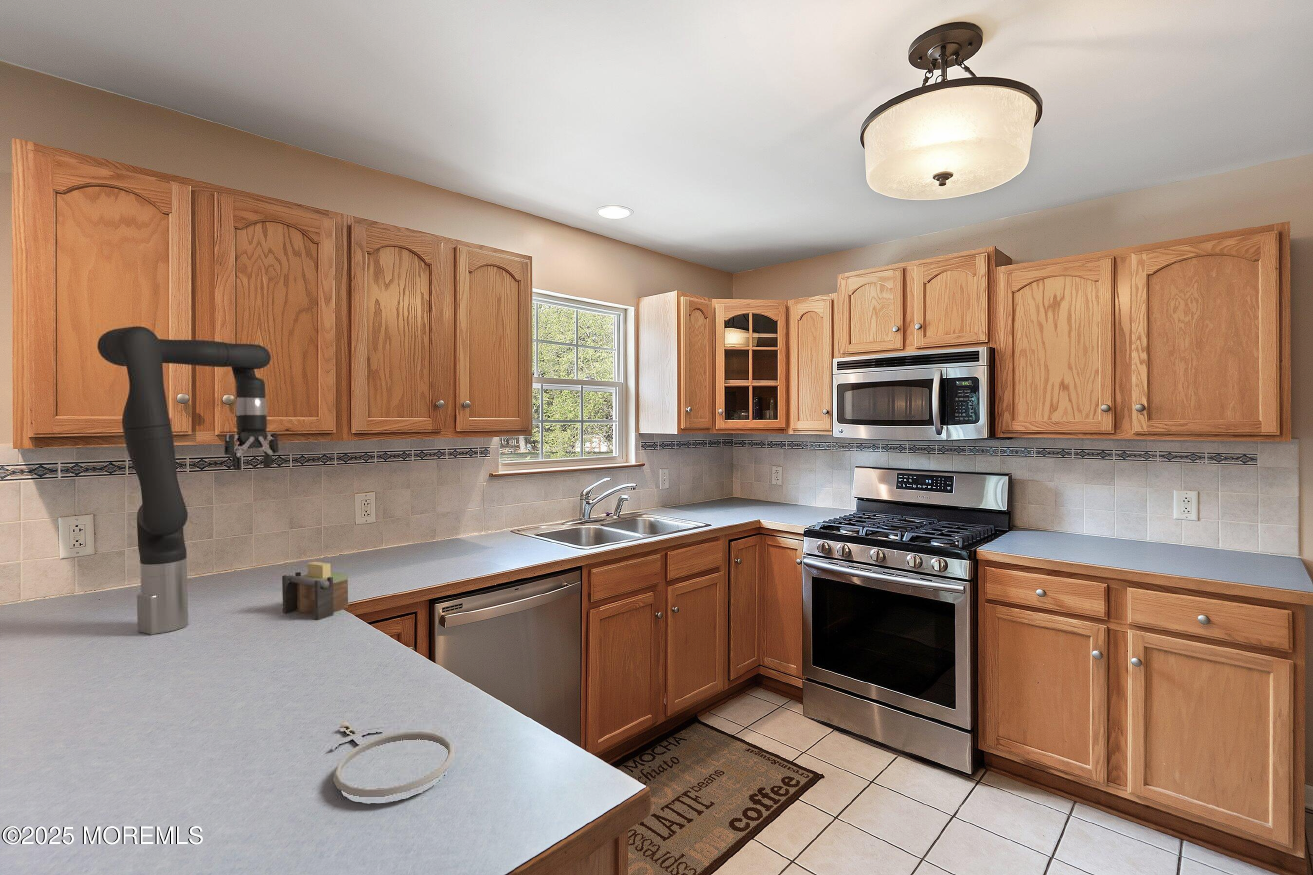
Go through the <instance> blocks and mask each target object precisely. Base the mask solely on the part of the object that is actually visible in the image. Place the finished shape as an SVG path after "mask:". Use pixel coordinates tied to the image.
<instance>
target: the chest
mask: <svg viewBox="0 0 1313 875" xmlns="http://www.w3.org/2000/svg"><path fill="white" fill-rule="evenodd" d="M301 573H302V572H300V571H297V572H296V571H295V572H294V576H302V574H301ZM281 580H282V581H281V583H282V584H281V585H282V587H281V588H282V589H281V590H282V592H281V593H282V595H281V596H282V613H283V614H289V613H292V612H295V611H297V612H300V613H301V612H302V613H305V614H311V615H314V619H315V620H316V621H319V620H322V619H325V618H328V617H332V616H334V613H335V612H339V611H342V610H345V609H347V608H349V578H348V579H347V580H343V581H340V582H336V583H333V577H328V578H327V581H329V583H330V585H329V587H328V588H323V587H320V581H318V580H317V581H314V586H311V585H305V584H299V583H292V582H288V575H287V574H283V575H282V576H281Z"/></svg>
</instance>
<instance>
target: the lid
mask: <svg viewBox="0 0 1313 875" xmlns="http://www.w3.org/2000/svg"><path fill="white" fill-rule="evenodd" d="M331 570H332V569H331V563H329V562H328V563H327V562H321V561H312V562H309V563H307V573H306V574H303V575H302V574H301V576H295V575H292V574H289V575H287V576H288V582H292V583H299V584H305V585H311V586H314V581H317V580H318V581H320V587H323V588H328V587H329V585H330V583H329V581H327V578H328V577H333V583H336V582H340V581H343V580H347V579H348V580H349V578H348V573H344V572H337V571H331Z"/></svg>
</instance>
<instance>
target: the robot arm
mask: <svg viewBox="0 0 1313 875" xmlns="http://www.w3.org/2000/svg"><path fill="white" fill-rule="evenodd" d="M97 351H98V353H99V355H100V356H101V357H102V359H104V360H105V361H106V362H108V363H110V364H112V365H115V366H119V367H126V371H127V376H128V384H129V387H128V388H129V389H128V395H127V397H126V401H125V406H124V408H123V412H122V417H121V426H122V430H123V431H122V432H123V436H124V442H125V446H126V450H127V453H128V456H129V459H130V463H131V464H132V466H133V469H134V470H135V474H136V476H137V477H138V478H137V479H138V481H139V485H140V492H141V493H140V494H141V505H140V506H139V508H138V509H137V514H136V528H137V529H136V531H137V533H136V534H137V535H136V536H137V549H138V555H139V568H140V569H139V571H140V572H139V573H140V575H139V576H140V592H138V593H137V594H136V610H137V611H136V612H137V617H136V618H137V632H139V633H142V634H143V633H144V634H148V635H151V636H152V635H157V634H161V633H162V634H163V633H169V632H173V631H174V632H175V631H176V630H177V631H178V630H180V629H183V628H186V626H188V625H189V602H188V601H189V600H188V599H189V597H188V595H189V594H188V560H187V558H188V556H187V552H188V551H187V546H186V542H185V537H184V526H185V525H186V523H187V521H188V516H189V515H188V513H189V512H188V510H187V509H188V508H187V506H186V503H185V501H184V497H183V494H182V491H181V487H180V484H179V481H178V475H177V474H178V472H177V461H176V460H177V459H176V458H177V457H176V450H175V441H174V434H173V429H172V424H171V419H170V416H169V410H168V403H167V396H166V390H165V382H164V368H163V366H164V365H163V364H174V365H175V364H177V365H186V366H187V365H188V366H199V367H200V366H201V367H212V368H231V370H232V375H233V379H234V380H235V384H236V404H235V416H236V417H235V422H236V427H235V428H236V431H237V432H236V434H234V433H233V434H232V433H227V434H225V436H224V449H223V451H224V452H223V453H224V455H225V456H229V457H231V458H232V459H231V460H232V462H231V463H232V469H233V470H234V471H242V457H241V456H242V454H243V453H244V452H245V451H247V449H258V450H259V451H261V452H262V454H263V457H262V458H263V468H264V469H270V468H271V467H272V466H273V455H275V454H276V453H279V451H280V450H279V437H278V433H277V432H269V433H267V429H268V414H267V412H268V411H267V410H268V409H267V399H266V382H265V381H264V379H263V378H261V377H258V376H257V375H256V372H255V370H260V369H264V368H266V367H268V365H269V364H270V363H271V360H272V356H271V353H270V351H269V349H267V348H266V347H265V346H264V345H261V344H256V343H255V344H254V343H233V342H232V343H230V342H223V341H217V340H216V341H215V340H204V339H165V338H164V339H163V338H159V337H158V336H157V335H156V334H155V332H154V331H153V330H151V329H149V328H147V327H144V326H138V325H135V326H134V325H133V326H127V327H120V328H114V329H110V330H108V331H106V332H105V333H102V334H101V335H100V337H99V338H98V341H97ZM267 440H268V442H266V441H267ZM236 441H238V442H237V444H236V445H235V442H236Z"/></svg>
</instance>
